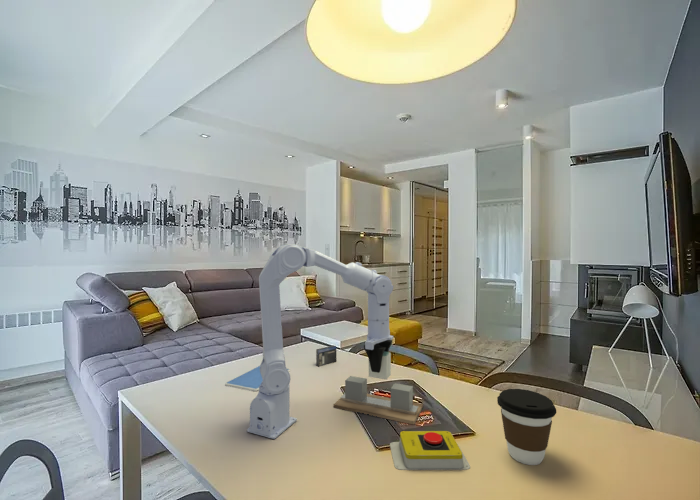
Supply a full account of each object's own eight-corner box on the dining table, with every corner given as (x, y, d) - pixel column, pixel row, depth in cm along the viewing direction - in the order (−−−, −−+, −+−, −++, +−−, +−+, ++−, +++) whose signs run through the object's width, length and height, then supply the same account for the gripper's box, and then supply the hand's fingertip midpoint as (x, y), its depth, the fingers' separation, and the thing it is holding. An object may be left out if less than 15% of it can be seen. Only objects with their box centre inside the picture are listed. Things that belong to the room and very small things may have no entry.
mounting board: (414, 424, 84) (414, 421, 84) (333, 407, 93) (333, 404, 93) (422, 407, 93) (422, 404, 93) (348, 393, 102) (348, 390, 102)
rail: (415, 415, 87) (415, 412, 87) (340, 399, 95) (340, 397, 95) (418, 409, 90) (418, 406, 90) (345, 394, 99) (345, 392, 99)
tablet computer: (261, 367, 125) (261, 363, 125) (291, 372, 120) (291, 368, 120) (223, 387, 107) (223, 383, 107) (256, 393, 103) (256, 389, 103)
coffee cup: (565, 476, 65) (566, 413, 65) (504, 469, 67) (504, 408, 67) (543, 443, 76) (544, 389, 76) (491, 438, 78) (491, 386, 77)
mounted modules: (409, 411, 87) (409, 391, 87) (345, 398, 95) (345, 380, 95) (412, 405, 91) (412, 386, 91) (350, 393, 98) (350, 375, 98)
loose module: (386, 379, 90) (386, 355, 90) (368, 376, 92) (368, 353, 92) (390, 375, 93) (390, 351, 93) (373, 372, 95) (373, 349, 95)
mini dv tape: (318, 366, 124) (318, 350, 124) (316, 365, 125) (316, 349, 125) (336, 362, 130) (336, 346, 130) (333, 361, 131) (333, 345, 131)
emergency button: (472, 449, 67) (395, 450, 67) (472, 472, 67) (395, 472, 67) (456, 424, 76) (389, 425, 76) (456, 444, 76) (389, 444, 76)
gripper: (384, 325, 84) (384, 381, 84) (400, 315, 98) (400, 362, 98) (357, 323, 87) (357, 376, 87) (376, 313, 100) (376, 359, 101)
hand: (378, 369), depth 93 cm, fingers closed on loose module, 4 cm apart
